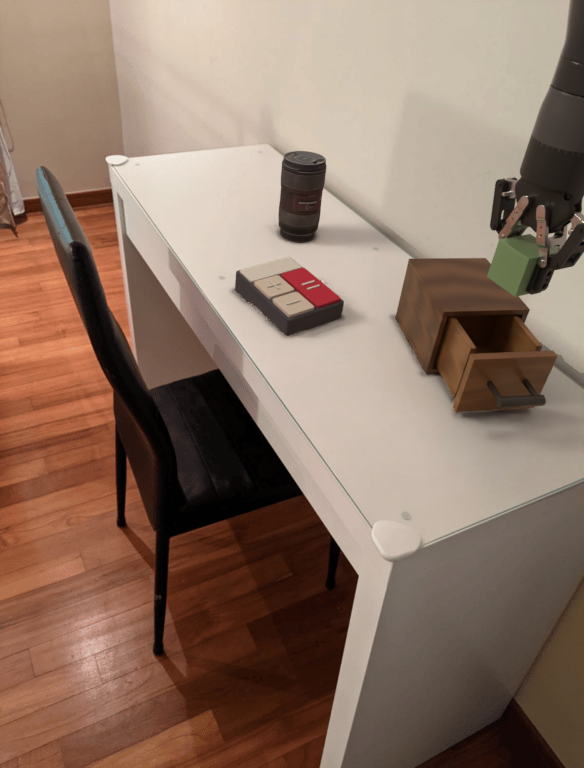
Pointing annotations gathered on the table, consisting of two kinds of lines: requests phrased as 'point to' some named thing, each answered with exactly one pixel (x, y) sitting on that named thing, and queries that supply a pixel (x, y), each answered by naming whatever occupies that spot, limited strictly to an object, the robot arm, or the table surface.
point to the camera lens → (301, 195)
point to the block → (514, 263)
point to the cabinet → (448, 300)
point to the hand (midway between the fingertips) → (517, 280)
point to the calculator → (288, 295)
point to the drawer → (492, 363)
